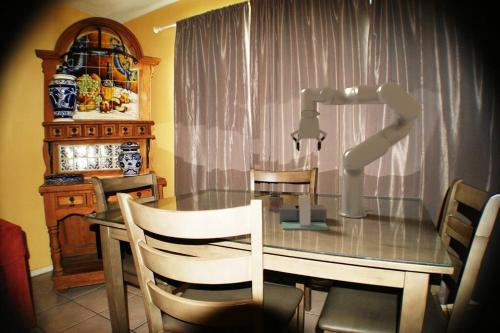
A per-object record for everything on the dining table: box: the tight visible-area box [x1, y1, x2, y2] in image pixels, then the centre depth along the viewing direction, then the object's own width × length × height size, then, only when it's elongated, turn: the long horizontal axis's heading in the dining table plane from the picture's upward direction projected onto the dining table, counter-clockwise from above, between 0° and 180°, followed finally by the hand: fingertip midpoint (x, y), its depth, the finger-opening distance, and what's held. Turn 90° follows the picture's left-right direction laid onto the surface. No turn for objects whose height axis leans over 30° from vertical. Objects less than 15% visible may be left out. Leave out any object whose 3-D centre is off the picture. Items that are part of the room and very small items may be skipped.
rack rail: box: [278, 204, 328, 224], centre depth 126 cm, size 20×9×6 cm, turn 86°
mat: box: [281, 222, 329, 231], centre depth 117 cm, size 18×8×1 cm, turn 86°
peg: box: [298, 194, 311, 227], centre depth 117 cm, size 4×4×12 cm
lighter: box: [267, 191, 284, 214], centre depth 142 cm, size 8×3×10 cm, turn 62°
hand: (308, 150), depth 138 cm, fingers open, 9 cm apart
